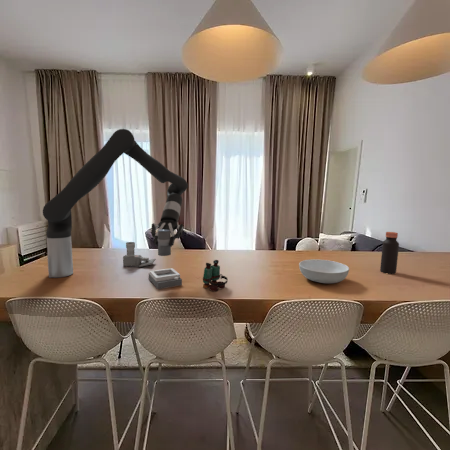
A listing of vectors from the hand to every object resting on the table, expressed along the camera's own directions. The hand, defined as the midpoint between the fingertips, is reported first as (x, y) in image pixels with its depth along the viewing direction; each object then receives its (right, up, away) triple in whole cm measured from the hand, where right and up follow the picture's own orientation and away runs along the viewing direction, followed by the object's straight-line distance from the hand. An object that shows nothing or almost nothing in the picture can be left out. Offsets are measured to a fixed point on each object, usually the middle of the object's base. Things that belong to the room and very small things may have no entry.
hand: (163, 245), depth 110 cm
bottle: (+106, -15, +23) cm, 110 cm away
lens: (0, -4, +2) cm, 5 cm away
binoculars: (+22, -17, -2) cm, 28 cm away
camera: (-19, -13, +28) cm, 36 cm away
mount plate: (0, -16, +4) cm, 16 cm away
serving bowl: (+69, -16, +10) cm, 72 cm away
